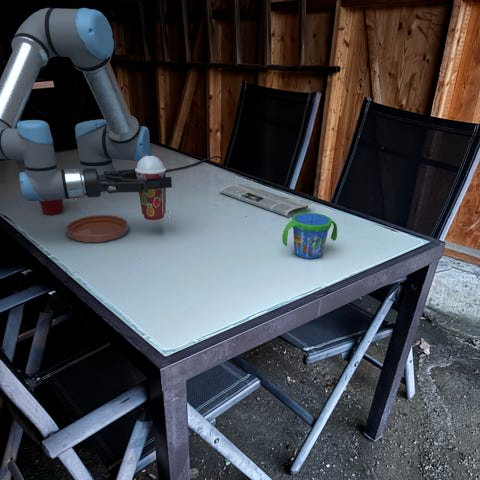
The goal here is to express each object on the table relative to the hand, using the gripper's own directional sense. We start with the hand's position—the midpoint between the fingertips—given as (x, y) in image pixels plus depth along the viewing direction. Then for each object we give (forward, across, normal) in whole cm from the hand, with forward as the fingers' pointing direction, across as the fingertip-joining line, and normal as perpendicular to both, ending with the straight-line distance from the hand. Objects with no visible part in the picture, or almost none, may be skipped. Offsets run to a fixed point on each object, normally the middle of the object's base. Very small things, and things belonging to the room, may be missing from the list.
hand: (168, 178), depth 133 cm
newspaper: (+38, -21, -17) cm, 46 cm away
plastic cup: (-33, -29, -17) cm, 47 cm away
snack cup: (+33, +25, -17) cm, 45 cm away
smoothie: (-5, 0, -11) cm, 12 cm away
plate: (-21, -7, -16) cm, 27 cm away
